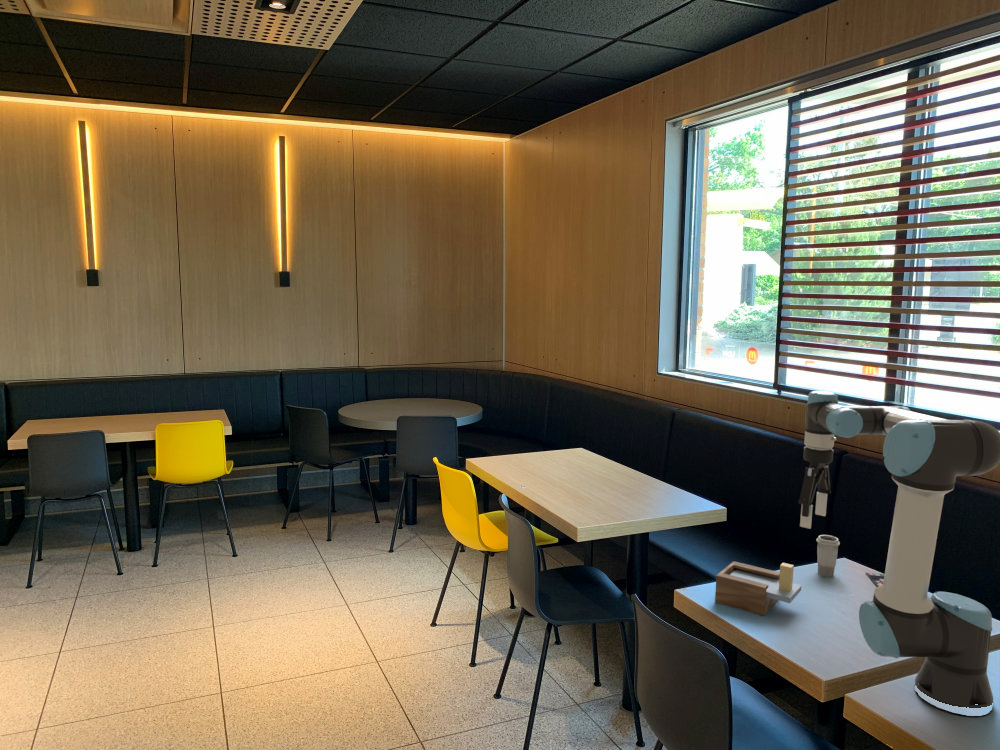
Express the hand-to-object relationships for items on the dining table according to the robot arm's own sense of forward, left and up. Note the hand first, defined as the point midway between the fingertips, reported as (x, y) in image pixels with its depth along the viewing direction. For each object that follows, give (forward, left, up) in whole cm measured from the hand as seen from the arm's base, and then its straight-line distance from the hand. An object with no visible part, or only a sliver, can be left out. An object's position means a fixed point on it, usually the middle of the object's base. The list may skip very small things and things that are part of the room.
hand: (813, 521), depth 208 cm
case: (-5, +15, -26) cm, 31 cm away
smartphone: (+35, -15, -27) cm, 47 cm away
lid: (-5, +12, -21) cm, 25 cm away
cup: (+31, +2, -26) cm, 41 cm away
